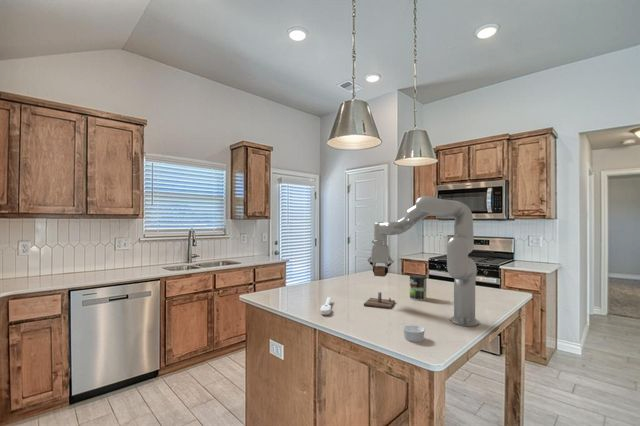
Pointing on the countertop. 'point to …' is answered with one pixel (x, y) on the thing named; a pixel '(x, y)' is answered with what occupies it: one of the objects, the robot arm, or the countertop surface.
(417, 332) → the ramekin
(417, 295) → the coffee can
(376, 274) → the square wooden collar
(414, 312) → the countertop surface
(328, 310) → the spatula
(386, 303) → the post board
